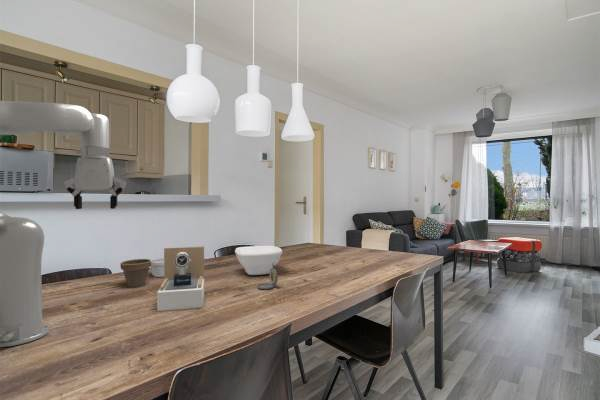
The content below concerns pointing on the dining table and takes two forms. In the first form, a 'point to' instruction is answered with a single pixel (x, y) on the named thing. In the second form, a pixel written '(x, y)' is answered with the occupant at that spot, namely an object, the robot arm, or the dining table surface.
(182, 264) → the watch
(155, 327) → the dining table surface
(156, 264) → the ramekin
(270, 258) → the bowl
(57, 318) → the dining table surface
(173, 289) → the open display box
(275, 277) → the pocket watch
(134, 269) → the flower pot
